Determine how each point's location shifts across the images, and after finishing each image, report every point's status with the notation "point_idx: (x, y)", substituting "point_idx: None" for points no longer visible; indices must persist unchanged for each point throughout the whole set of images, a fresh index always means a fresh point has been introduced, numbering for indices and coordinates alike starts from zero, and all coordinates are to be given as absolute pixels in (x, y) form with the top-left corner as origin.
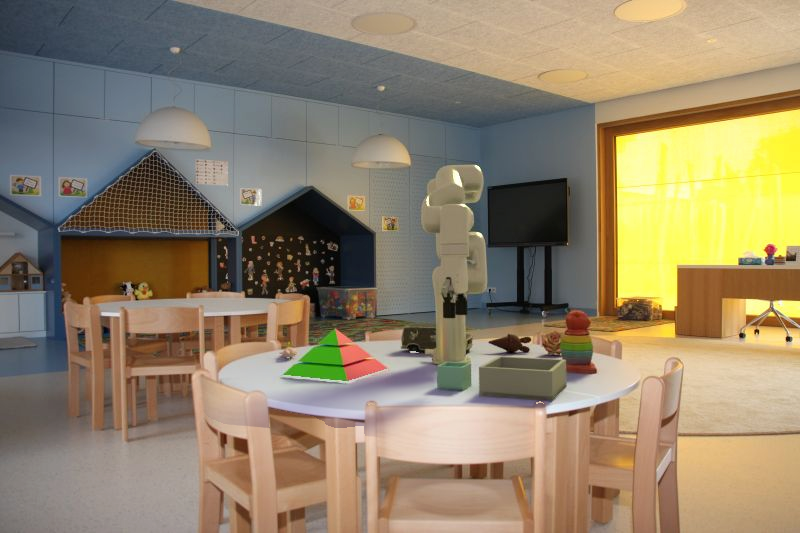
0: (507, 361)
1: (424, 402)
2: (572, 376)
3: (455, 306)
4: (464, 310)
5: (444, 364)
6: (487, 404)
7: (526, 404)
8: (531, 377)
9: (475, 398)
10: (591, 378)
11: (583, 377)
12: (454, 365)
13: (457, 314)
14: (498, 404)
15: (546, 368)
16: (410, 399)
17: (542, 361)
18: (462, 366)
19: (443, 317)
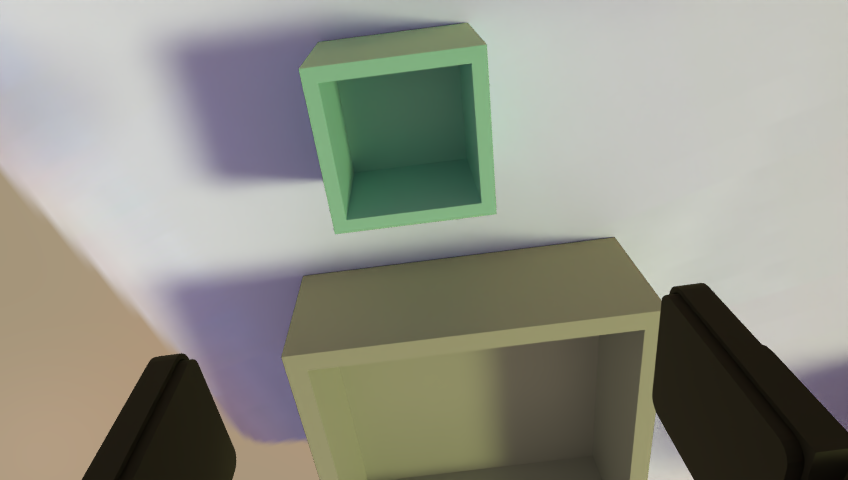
0: (632, 341)
1: (25, 136)
2: None
3: (738, 359)
4: (679, 429)
5: (407, 70)
6: None
7: (268, 442)
8: None
9: (245, 284)
10: None
11: None
12: (472, 109)
13: (661, 310)
14: (210, 381)
15: (613, 460)
16: (18, 38)
17: (624, 474)
18: (367, 219)
19: (153, 359)
